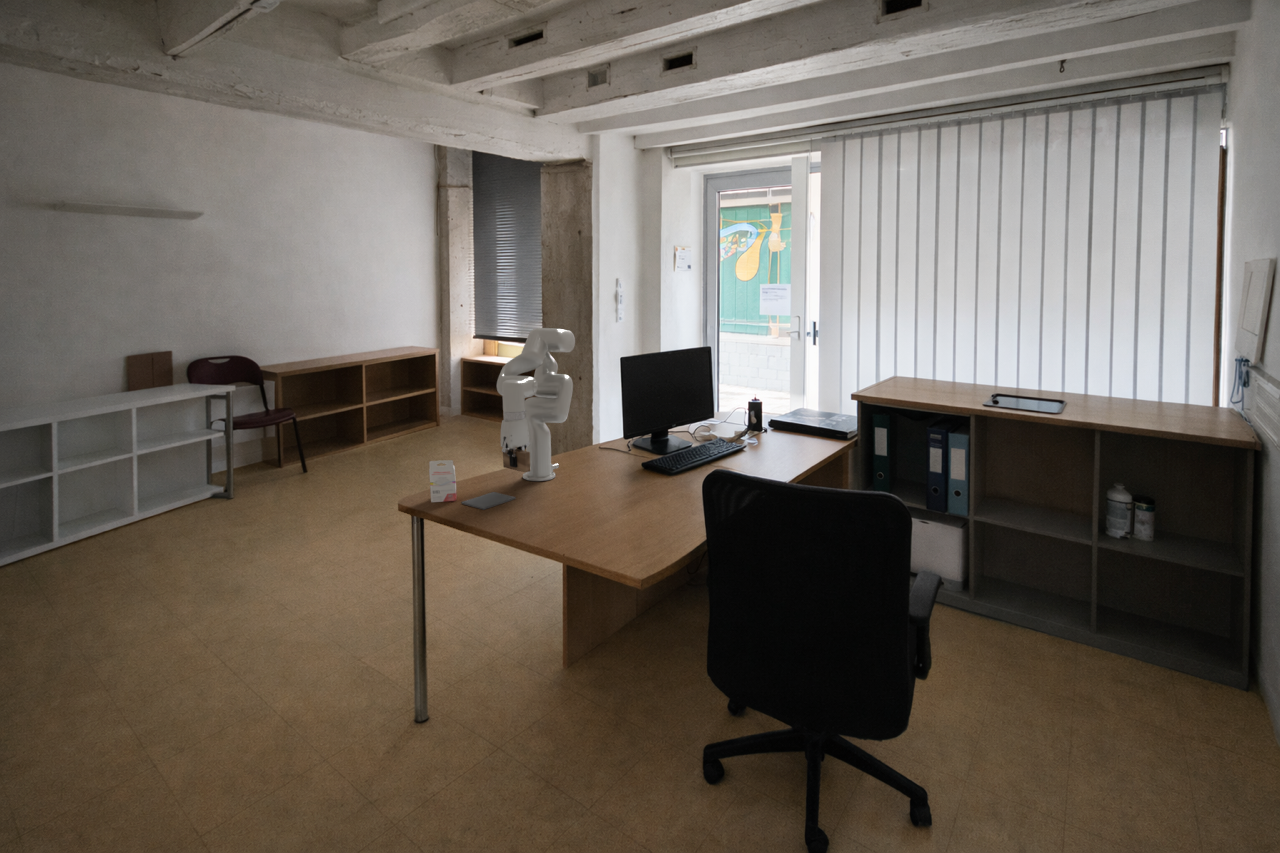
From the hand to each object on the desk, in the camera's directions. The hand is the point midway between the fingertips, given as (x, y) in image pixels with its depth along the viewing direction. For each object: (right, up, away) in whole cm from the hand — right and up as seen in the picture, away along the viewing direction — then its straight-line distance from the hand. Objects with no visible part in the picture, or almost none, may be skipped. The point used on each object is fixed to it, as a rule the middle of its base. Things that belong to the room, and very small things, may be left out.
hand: (516, 465), depth 250 cm
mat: (-9, -12, -5) cm, 16 cm away
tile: (0, -1, 0) cm, 1 cm away
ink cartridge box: (-25, -12, -3) cm, 28 cm away
